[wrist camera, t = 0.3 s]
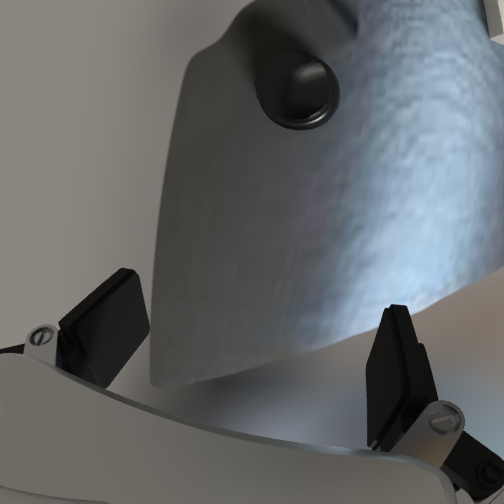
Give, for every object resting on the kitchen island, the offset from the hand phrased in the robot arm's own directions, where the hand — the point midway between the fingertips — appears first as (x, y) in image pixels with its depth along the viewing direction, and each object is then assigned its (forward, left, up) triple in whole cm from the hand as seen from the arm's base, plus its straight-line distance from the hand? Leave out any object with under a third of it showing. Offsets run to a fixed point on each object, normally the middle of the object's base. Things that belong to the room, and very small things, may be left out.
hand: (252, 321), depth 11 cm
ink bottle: (-10, -1, -31) cm, 32 cm away
